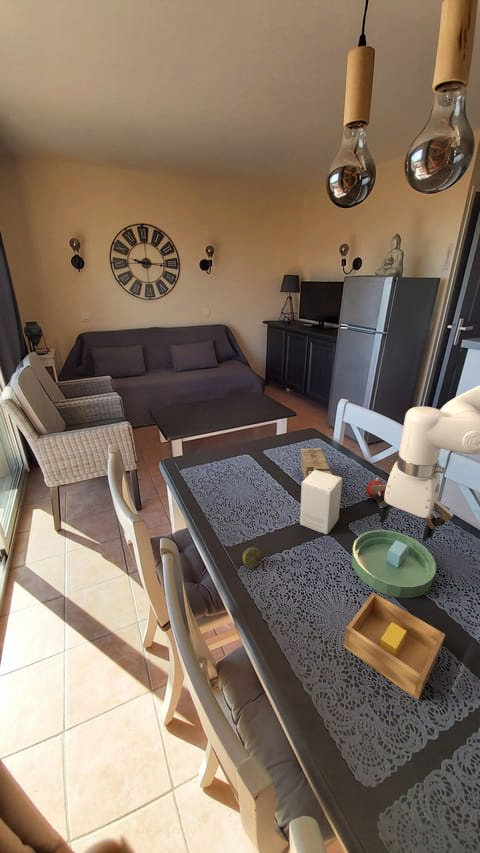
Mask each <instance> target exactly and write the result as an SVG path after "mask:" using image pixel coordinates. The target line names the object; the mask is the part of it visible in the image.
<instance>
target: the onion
mask: <svg viewBox="0 0 480 853" xmlns="http://www.w3.org/2000/svg"><path fill="white" fill-rule="evenodd" d="M381 483H383V482H382V481H380V478H379V477H376V478H375V479H374V480H371V481H370V482H369V483H367V485H366V490H365V491H366V495H367V496H368V497H369V498H370V499H372V500H374V501H376V499H375V498H374V494H373V492H372V489H371V487H372V486H373V485H374V484H381ZM380 492H381V494H382V495H383V497H384V496H385V490H380Z"/></svg>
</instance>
